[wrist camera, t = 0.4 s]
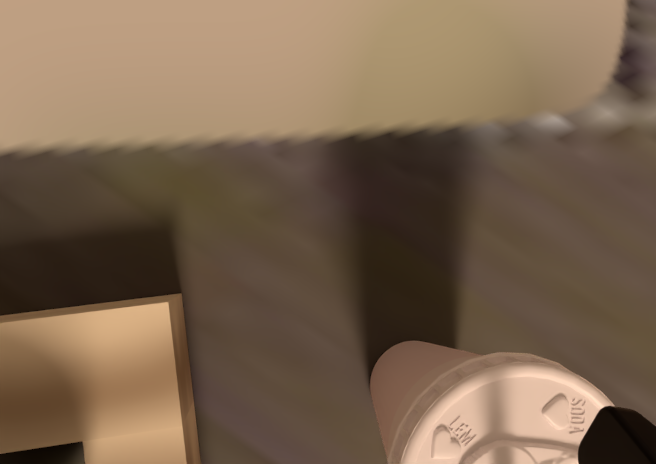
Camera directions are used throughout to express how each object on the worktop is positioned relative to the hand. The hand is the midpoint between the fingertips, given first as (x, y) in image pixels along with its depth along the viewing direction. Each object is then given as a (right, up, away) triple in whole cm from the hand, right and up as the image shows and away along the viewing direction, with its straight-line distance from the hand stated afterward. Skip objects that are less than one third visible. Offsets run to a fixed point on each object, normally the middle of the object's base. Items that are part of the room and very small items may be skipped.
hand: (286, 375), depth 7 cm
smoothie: (+4, -4, +15) cm, 16 cm away
